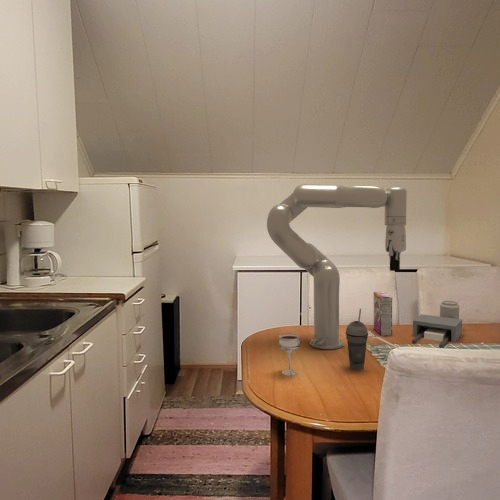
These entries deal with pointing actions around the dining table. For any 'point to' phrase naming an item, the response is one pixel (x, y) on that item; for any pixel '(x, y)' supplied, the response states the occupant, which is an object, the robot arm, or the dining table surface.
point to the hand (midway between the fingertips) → (394, 270)
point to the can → (449, 309)
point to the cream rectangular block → (435, 334)
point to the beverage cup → (356, 343)
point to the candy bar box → (383, 313)
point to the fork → (381, 339)
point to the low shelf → (438, 322)
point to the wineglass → (289, 348)
